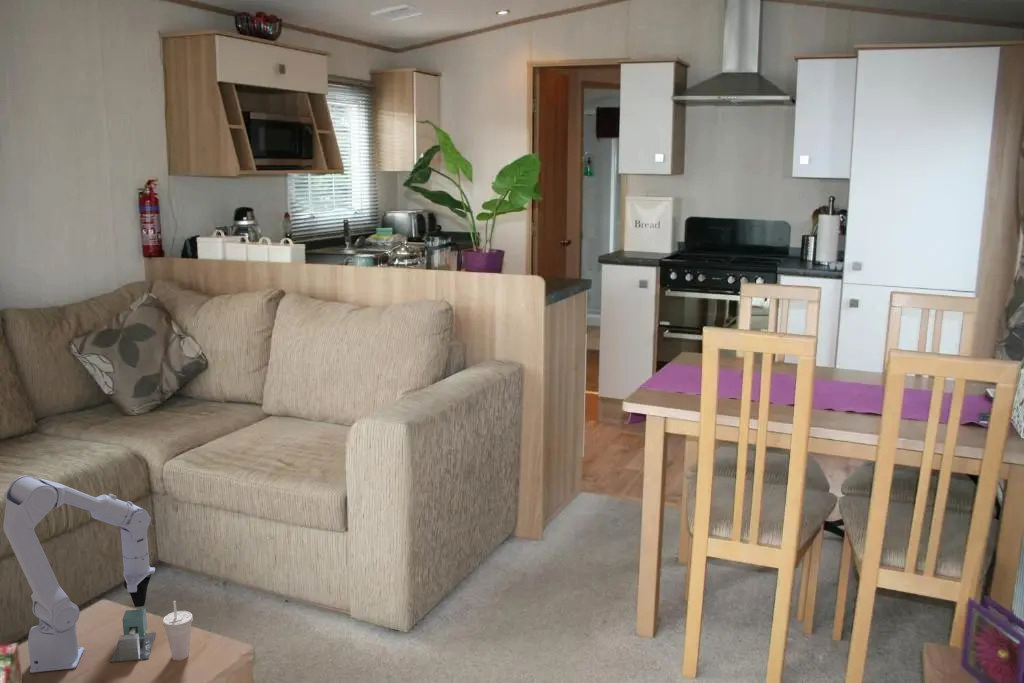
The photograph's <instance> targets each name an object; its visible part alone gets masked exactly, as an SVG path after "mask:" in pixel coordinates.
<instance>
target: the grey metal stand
mask: <svg viewBox="0 0 1024 683" xmlns="http://www.w3.org/2000/svg"><path fill="white" fill-rule="evenodd" d="M136 630H137V626H133V627H132V628H131V630H130V633H129V634H128V635H124V634H121V635H119V637H118V640H117V643H116V646H115V649H114V651H113V655H112V657H111V659H110V663H111V662H115V663H125V662H133V660H135V661H142V660H141V659H144V660H149V658H150V655H151V651H152V649H151V648H153V644H154V641H155V638H156V636H157V632H156V631H155V632H147V633H145V636H144V637H139V634H135V632H136ZM155 635H156V636H155ZM124 661H125V662H124Z"/></svg>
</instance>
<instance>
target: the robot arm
mask: <svg viewBox="0 0 1024 683" xmlns="http://www.w3.org/2000/svg"><path fill="white" fill-rule="evenodd" d="M3 496H4V500H5V509H4V516H3V517H4V518H3V524H2V528H3V532H4V534H5V536H6V538H7V540H8V543H9V544H10V546H11V549H12V551H13V553H14V555H15V557H16V559H17V562H18V564H19V565H20V567H21V570H22V571H23V574H24V576H25V578H26V580H27V582H28V583H27V584H28V585H29V586H30V589H31V591H32V594H31V595H30V598H31V600H32V613H33V615H34V616H35V617H36V618H38V619H39V623H38V625H35V626H32V627H31V628H30V630H29V632H28V633H29V634H28V636H27V637H28V639H27V648H28V656H29V665H30V669H29V673H31V674H32V673H41V672H42V673H43V672H51V671H60V670H62V671H63V670H70V669H76V668H77V666H78V664H79V662H80V660H81V658H82V655H83V653H84V651H85V647H83V646H80V647H79V646H78V644H79V642H78V635H77V626H76V623H77V622H78V621H79V618H80V612H81V611H80V608H79V606H78V605H77V604H76V603H73V602H72V601H71V599H70V597H69V595H67V594H66V592H65V591H64V590H63V589H62V587H61V586H60V584H59V582H58V579H57V577H56V575H55V572H54V571H53V569H52V567H51V564H50V562H49V559H48V558H47V556H46V553H45V551H44V548H43V546H42V545H41V542H40V541H39V540H40V539H39V538H38V536H37V534H36V531H35V528H36V527H37V525H38V524H39V523H40V522H41V521H42V520H43V519H44V518H45V517H46V516H47V515H48V514H49V513H50V512H51V511H52V509H53V508H56V509H59V508H60V507H61V506H62V505H63V504H65V505H70V506H73V507H75V508H78V509H83V510H86V511H89V513H90V516H91V518H93V519H95V520H98V521H101V522H103V523H106V524H110V525H112V526H116V527H120V528H119V529H120V541H121V542H120V543H121V551H122V553H121V554H122V564H123V578H124V582H123V586H124V588H125V589H126V590H127V592H126V593H128V594H129V595H130V597H131V601H132V604H133V605H134V607H135V608H140V607H144V606H145V604H146V602H147V601H146V600H147V592H148V585H149V583H150V580H151V578H152V574H154V573H155V571H156V567H153V566H150V556H149V555H150V554H149V542H148V529H149V527H150V525H151V522H152V517H151V516H150V515H149V512H148V511H147V510H146V509H144V508H142V507H140V506H138V505H136V504H134V503H133V502H132V501H130V500H127V501H123V500H120V498H119V499H118V497H117V495H115V494H113V493H108V495H107V494H101V495H98V496H96V497H95V496H92V495H90V494H88V493H84V492H82V491H79V490H77V489H75V488H72V487H69V486H67V485H64V484H62V483H59V482H56V481H53V480H52V481H51V480H47V479H45V478H35V477H34V476H32V475H21V476H19V477H17V478H15V479H14V480H13V481H12V482H11V483H10V485H9V486H8V488H7V490H6V491H5V493H4V495H3Z"/></svg>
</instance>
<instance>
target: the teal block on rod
mask: <svg viewBox="0 0 1024 683" xmlns="http://www.w3.org/2000/svg"><path fill="white" fill-rule="evenodd" d="M121 620H122V629H123V630H122V631H123V635H128V634H129V633H130V630H131V628H132V627H133V626H137V630H136V632H135V634H139V637H144V636H145V633H146V632H147V630H148V621H147V610H146V608H139V609H127V610H125V612H124V614H123V616H122V619H121Z"/></svg>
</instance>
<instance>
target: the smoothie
mask: <svg viewBox="0 0 1024 683" xmlns="http://www.w3.org/2000/svg"><path fill="white" fill-rule="evenodd" d="M172 603H173V604H172V605H173V611H172V612H170V613H167V615H165V616H164V617H163V620H162V626H163V627H164V628H165V633H166V637H167V642H168V645H169V646H168V647H169V650H170V654H171V659H172V660H174V661H182V660H185V659H188V657H190V650H191V649H190V646H191V634H192V622H193V620H194V618H193V614H192V613H191V612H190V611H187V610H177V601H176V600H173V601H172Z"/></svg>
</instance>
